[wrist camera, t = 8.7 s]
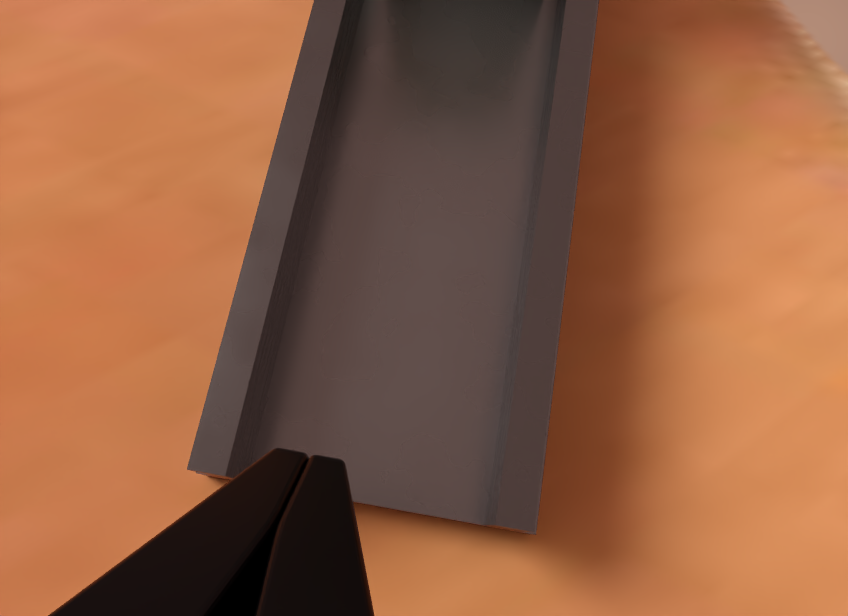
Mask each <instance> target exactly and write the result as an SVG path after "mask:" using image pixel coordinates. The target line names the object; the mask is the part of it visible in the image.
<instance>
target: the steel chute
mask: <svg viewBox="0 0 848 616" xmlns="http://www.w3.org/2000/svg"><path fill="white" fill-rule="evenodd" d="M598 4H599V0H314V3H313V6H312V10H311V14H310V18H309V21H308V25H307V29H306V32H305V36H304V40H303V43H302V47H301V51H300V54H299V58H298V62H297V65H296V69H295V73H294V77H293V80H292V84H291V88H290V91H289V95H288V99H287V102H286V106H285V110H284V113H283V117H282V121H281V124H280V128H279V132H278V135H277V139H276V143H275V147H274V150H273V154H272V158H271V161H270V165H269V169H268V172H267V176H266V180H265V183H264V187H263V191H262V194H261V198H260V202H259V206H258V209H257V213H256V217H255V220H254V224H253V228H252V231H251V235H250V239H249V242H248V246H247V250H246V253H245V257H244V261H243V264H242V268H241V272H240V276H239V279H238V283H237V287H236V290H235V294H234V298H233V301H232V305H231V309H230V312H229V316H228V320H227V323H226V327H225V331H224V335H223V338H222V342H221V346H220V349H219V353H218V357H217V360H216V364H215V368H214V371H213V375H212V379H211V382H210V386H209V390H208V393H207V397H206V401H205V405H204V408H203V412H202V416H201V419H200V423H199V427H198V430H197V434H196V438H195V441H194V445H193V449H192V452H191V456H190V460H189V464H188V467H187V470H191V471H195V472H196V473H198V474H202V475H206V476H212V477H217V478H223V479H228V480H232V479H233V478H234V477H236V476H237V475H239V474H240V473H241V472H243V471H244V470H245V469H247V468H248V467H249V466H251V465H252V464H253V463H255V462H256V461H257V460H259V459H260V458H261V457H263V456H264V455H265V454H267V453H268V452H270V451H271V450H273V449H275V448H283V449H289V450H294V451H300V452H304V453H306V454H307V455H308V456H309V458H310V457H311V456H312V455H322V456H327V457H333V458H338V459H342V460H343V461H344V462H345V464H346V469H347V474H348V479H349V484H350V490H351V495H352V500H353V502H355V503H361V504H366V505H372V506H377V507H383V508H388V509H394V510H399V511H405V512H410V513H416V514H421V515H427V516H432V517H438V518H443V519H449V520H454V521H460V522H465V523H471V524H476V525H482V526H487V527H493V528H498V529H504V530H509V531H515V532H520V533H526V534H534V535H536V530H537V521H538V513H539V504H540V496H541V487H542V479H543V470H544V462H545V454H546V445H547V437H548V428H549V420H550V411H551V403H552V394H553V386H554V377H555V369H556V360H557V352H558V343H559V335H560V326H561V318H562V309H563V301H564V292H565V284H566V275H567V267H568V258H569V250H570V242H571V233H572V225H573V216H574V208H575V199H576V191H577V182H578V174H579V165H580V157H581V148H582V140H583V131H584V123H585V114H586V106H587V97H588V89H589V80H590V72H591V63H592V55H593V46H594V38H595V30H596V21H597V13H598Z"/></svg>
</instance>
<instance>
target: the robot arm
mask: <svg viewBox="0 0 848 616" xmlns="http://www.w3.org/2000/svg"><path fill="white" fill-rule="evenodd" d="M48 616H374V611H373V606H372V601H371V595H370V590H369V585H368V580H367V574H366V569H365V564H364V558H363V553H362V548H361V543H360V537H359V532H358V527H357V521H356V516H355V511H354V506H353V500H352V495H351V490H350V484H349V479H348V474H347V469H346V464H345V462H344V461H343V460H342V459H338V458H333V457H327V456H322V455H312V456H311V457H310V458H309V456H308V455H307V454H306V453H304V452H300V451H294V450H289V449H283V448H275V449H273V450H271V451H270V452H268V453H267V454H265V455H264V456H263V457H261V458H260V459H259V460H257V461H256V462H255V463H253V464H252V465H251V466H249V467H248V468H247V469H245V470H244V471H243V472H241V473H240V474H239V475H237V476H236V477H234V478H233V479H232V480H230V481H229V482H228V483H226V484H225V485H224V486H222V487H221V488H220V489H218V490H217V491H216V492H214V493H213V494H212V495H210V496H209V497H207V498H206V499H205V500H203V501H202V502H201V503H199V504H198V505H197V506H195V507H194V508H193V509H191V510H190V511H189V512H187V513H186V514H185V515H183V516H182V517H181V518H179V519H178V520H176V521H175V522H174V523H172V524H171V525H170V526H168V527H167V528H166V529H164V530H163V531H162V532H160V533H159V534H158V535H156V536H155V537H154V538H152V539H151V540H149V541H148V542H147V543H145V544H144V545H143V546H141V547H140V548H139V549H137V550H136V551H135V552H133V553H132V554H131V555H129V556H128V557H127V558H125V559H124V560H123V561H121V562H120V563H118V564H117V565H116V566H114V567H113V568H112V569H110V570H109V571H108V572H106V573H105V574H104V575H102V576H101V577H100V578H98V579H97V580H96V581H94V582H93V583H92V584H90V585H89V586H87V587H86V588H85V589H83V590H82V591H81V592H79V593H78V594H77V595H75V596H74V597H73V598H71V599H70V600H69V601H67V602H66V603H65V604H63V605H62V606H60V607H59V608H58V609H56V610H55V611H54V612H52V613H51V614H50V615H48Z"/></svg>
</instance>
